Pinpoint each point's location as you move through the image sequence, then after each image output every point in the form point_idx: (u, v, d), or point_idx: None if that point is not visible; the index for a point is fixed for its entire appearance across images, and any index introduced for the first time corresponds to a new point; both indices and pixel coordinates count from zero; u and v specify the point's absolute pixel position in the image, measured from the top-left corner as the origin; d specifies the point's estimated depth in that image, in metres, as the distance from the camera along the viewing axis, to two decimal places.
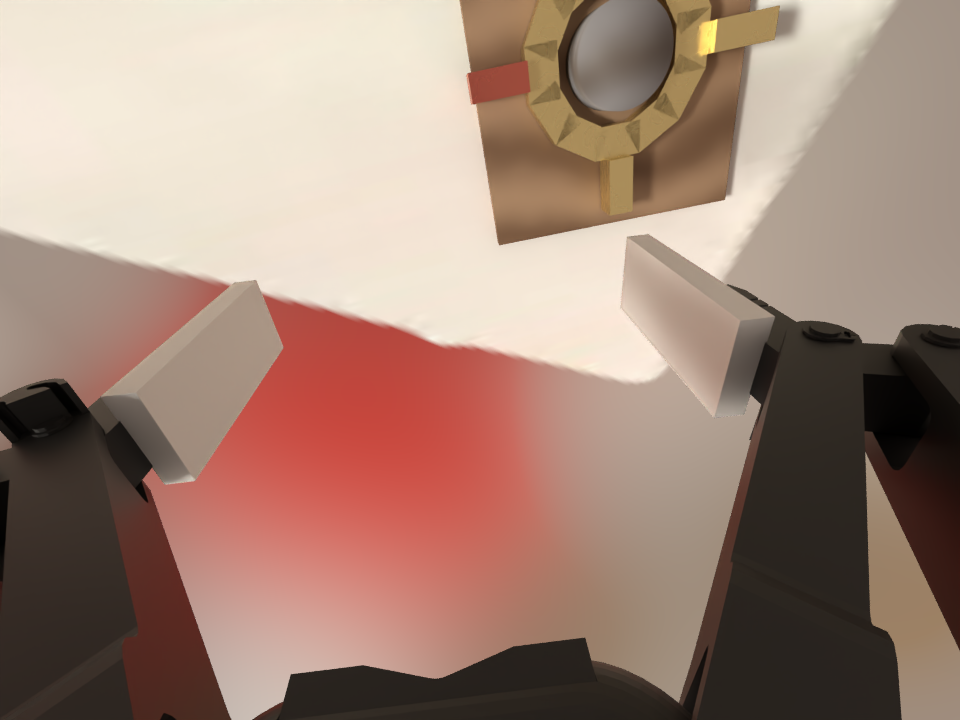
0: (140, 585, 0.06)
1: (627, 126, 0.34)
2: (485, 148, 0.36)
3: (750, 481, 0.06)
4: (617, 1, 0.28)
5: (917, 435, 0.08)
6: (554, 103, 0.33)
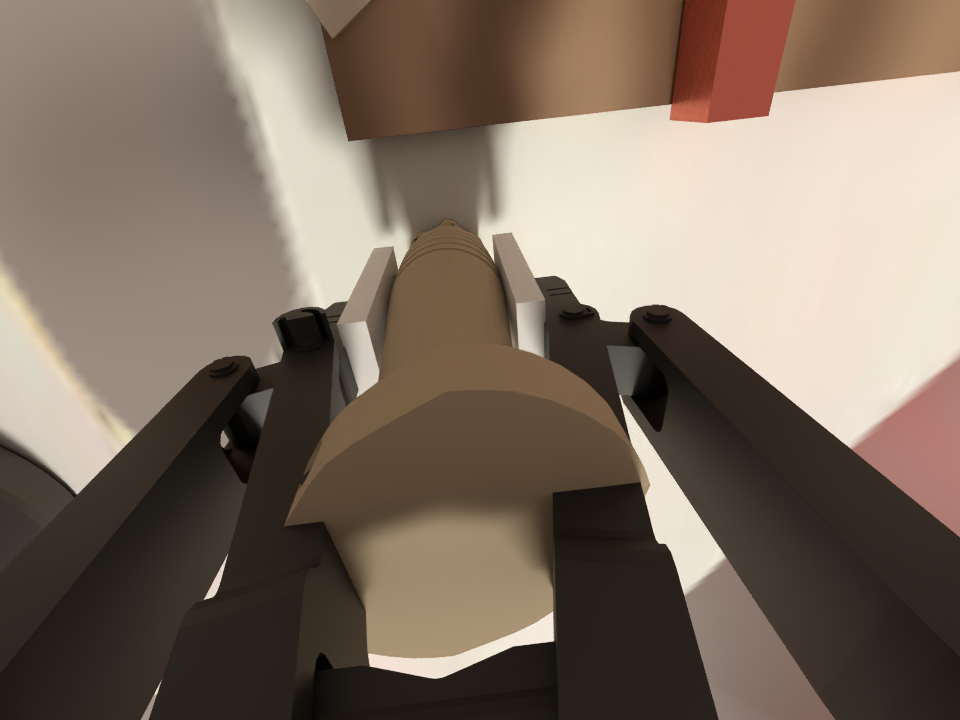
0: None
1: None
2: (813, 83, 0.15)
3: None
4: None
5: (662, 395, 0.10)
6: None
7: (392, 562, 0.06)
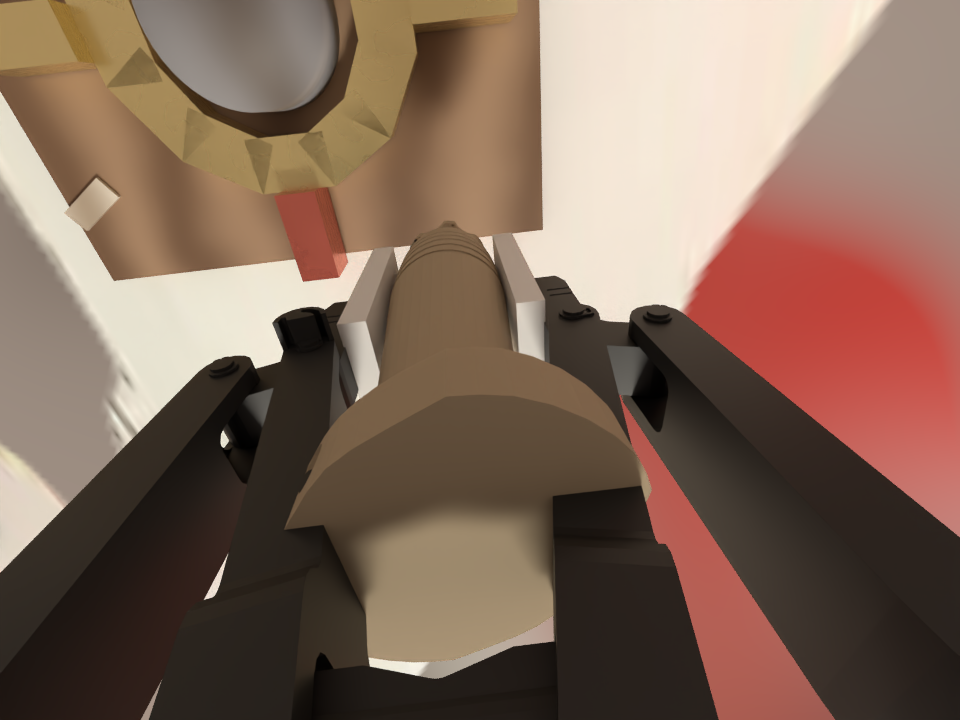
0: None
1: None
2: (402, 244, 0.25)
3: None
4: (154, 36, 0.16)
5: (662, 395, 0.10)
6: (328, 143, 0.20)
7: (392, 567, 0.06)
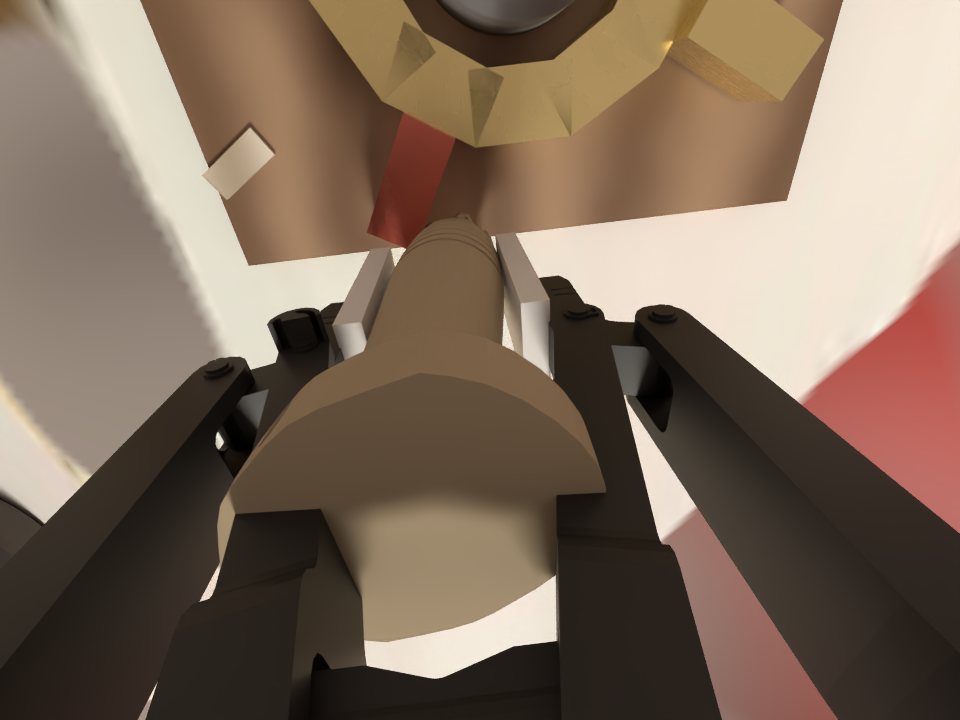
0: None
1: None
2: (611, 218, 0.20)
3: None
4: None
5: (667, 395, 0.10)
6: (502, 95, 0.15)
7: (339, 537, 0.06)
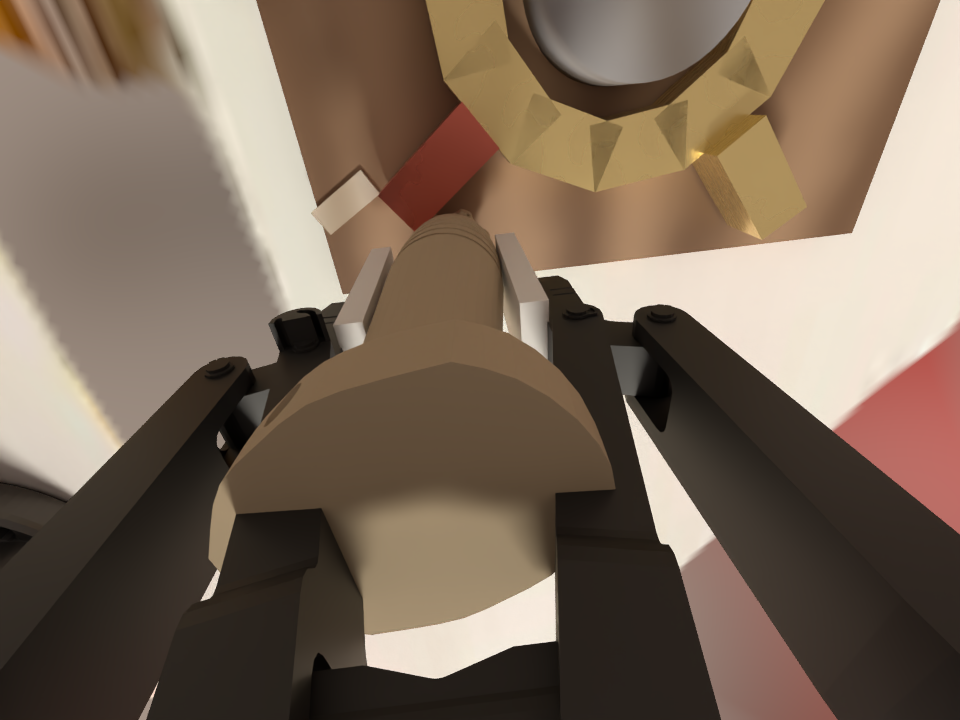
0: None
1: (722, 67, 0.15)
2: (685, 250, 0.21)
3: None
4: None
5: (666, 394, 0.10)
6: (552, 129, 0.16)
7: (339, 524, 0.06)
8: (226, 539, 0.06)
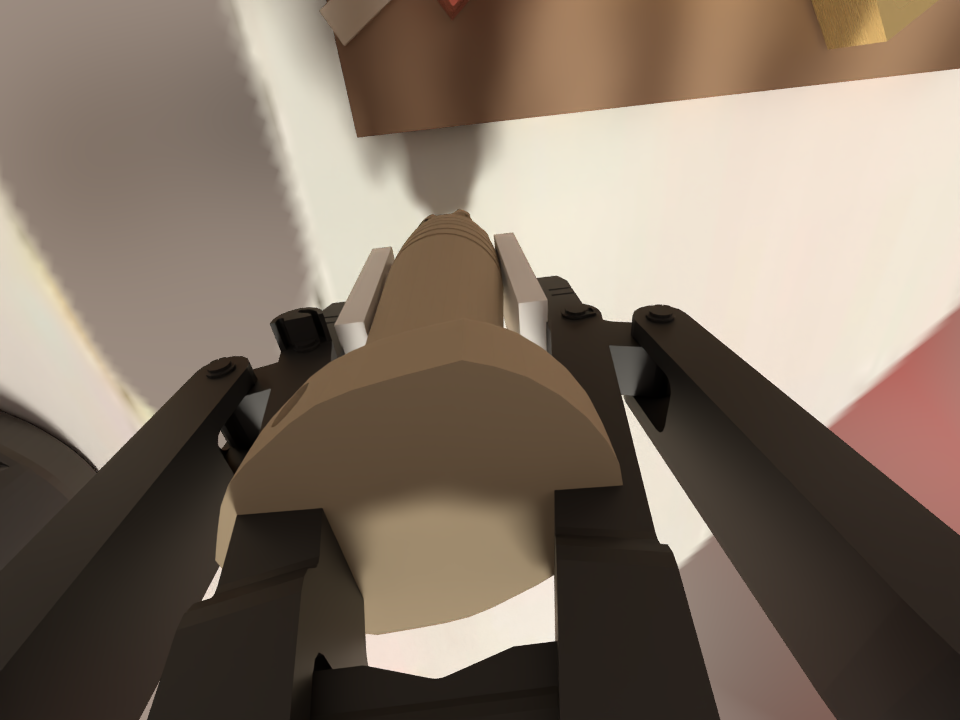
0: None
1: None
2: (776, 85, 0.17)
3: None
4: None
5: (664, 395, 0.10)
6: None
7: (348, 524, 0.06)
8: None
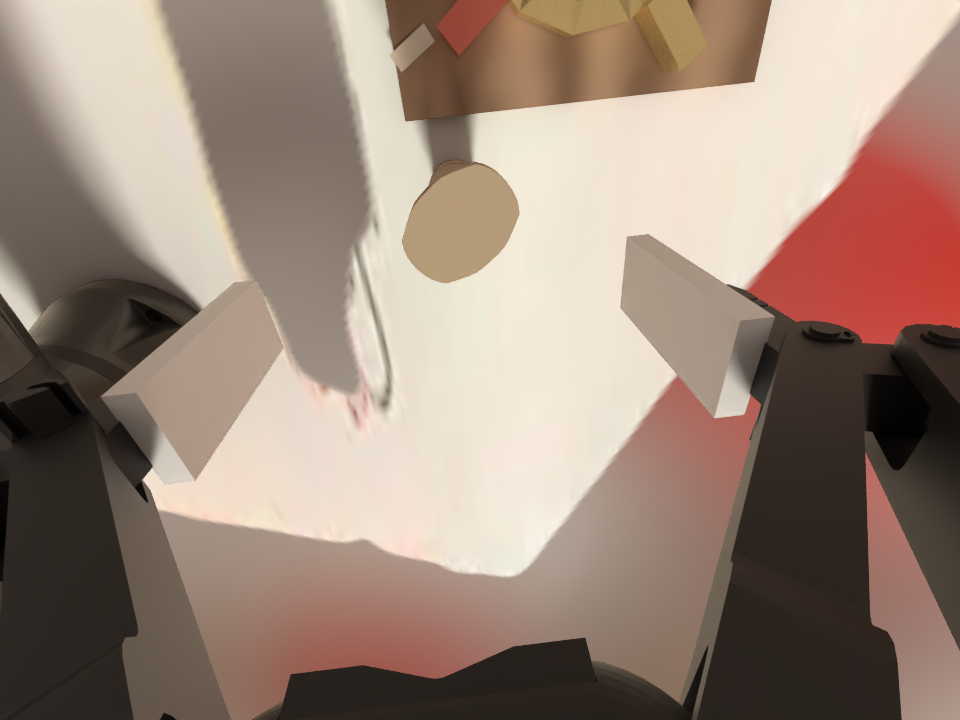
0: (140, 585, 0.06)
1: None
2: (639, 92, 0.31)
3: (750, 481, 0.06)
4: None
5: (917, 435, 0.08)
6: None
7: (443, 224, 0.21)
8: (409, 231, 0.21)
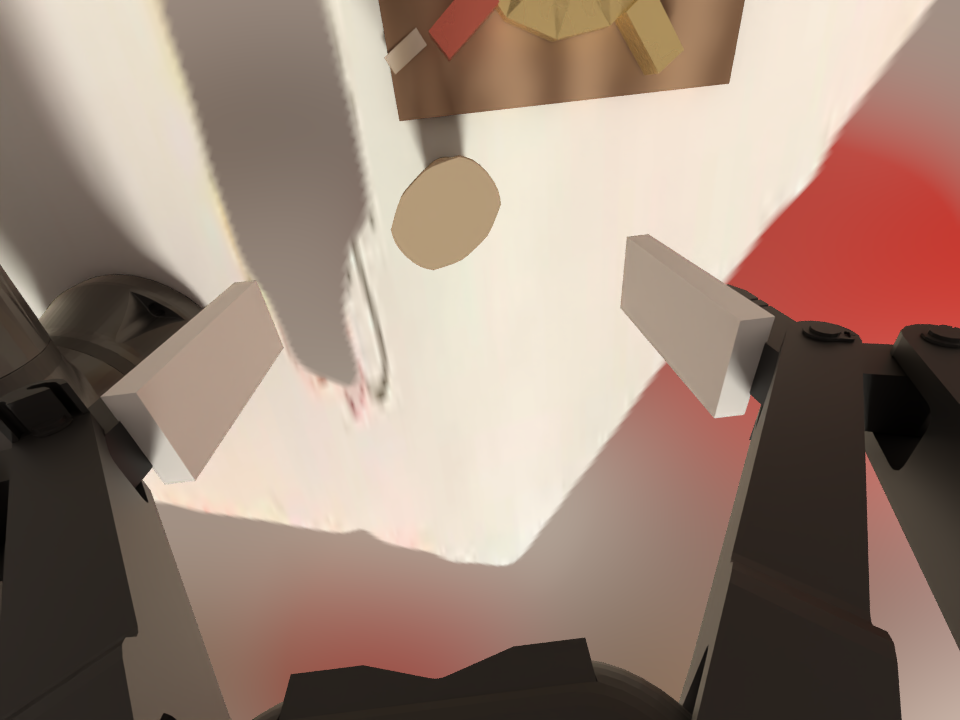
0: (140, 585, 0.06)
1: None
2: (620, 93, 0.32)
3: (750, 481, 0.06)
4: None
5: (917, 435, 0.08)
6: None
7: (429, 214, 0.23)
8: (398, 220, 0.23)
